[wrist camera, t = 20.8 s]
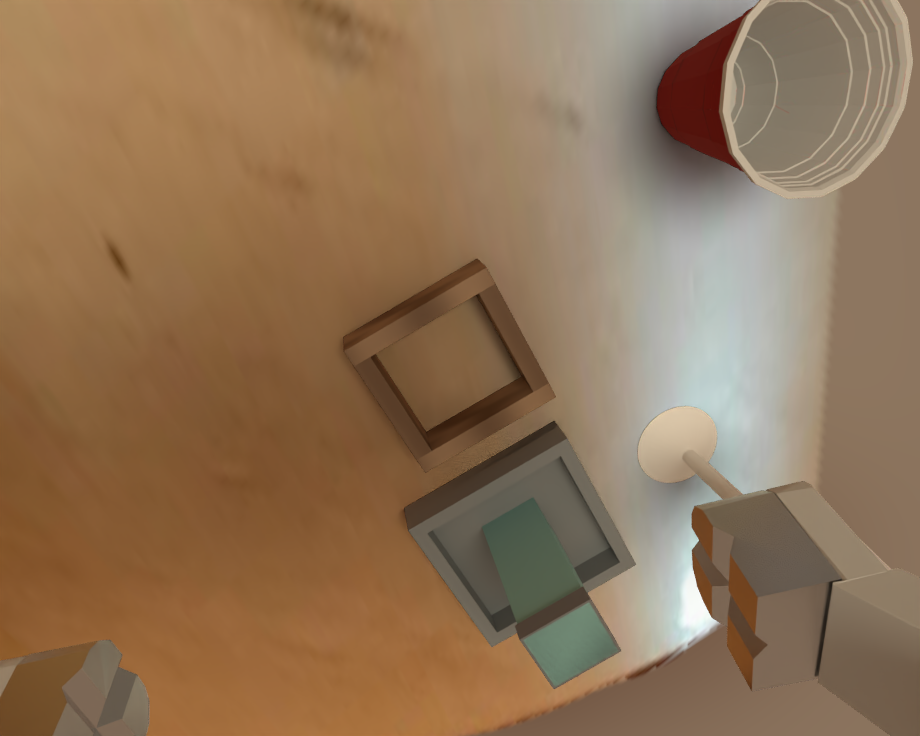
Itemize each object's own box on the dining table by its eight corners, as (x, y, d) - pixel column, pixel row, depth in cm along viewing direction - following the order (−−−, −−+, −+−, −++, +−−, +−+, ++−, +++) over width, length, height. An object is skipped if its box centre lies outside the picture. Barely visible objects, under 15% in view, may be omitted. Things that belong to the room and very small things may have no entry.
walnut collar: (420, 452, 48) (425, 472, 46) (343, 337, 44) (343, 351, 42) (543, 381, 48) (556, 396, 45) (477, 258, 44) (486, 267, 41)
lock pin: (507, 569, 52) (553, 689, 41) (479, 526, 50) (519, 639, 39) (560, 538, 52) (621, 650, 41) (533, 494, 50) (590, 599, 39)
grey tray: (483, 620, 55) (491, 647, 52) (404, 507, 50) (408, 530, 47) (620, 542, 54) (636, 564, 51) (554, 421, 49) (567, 438, 47)
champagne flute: (624, 433, 51) (848, 671, 29) (701, 390, 51) (985, 595, 28) (655, 497, 53) (881, 761, 31) (728, 456, 53) (1008, 692, 31)
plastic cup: (779, 161, 46) (922, 172, 34) (632, 199, 45) (730, 223, 34) (773, -15, 42) (932, -67, 30) (610, 23, 41) (713, -16, 30)
